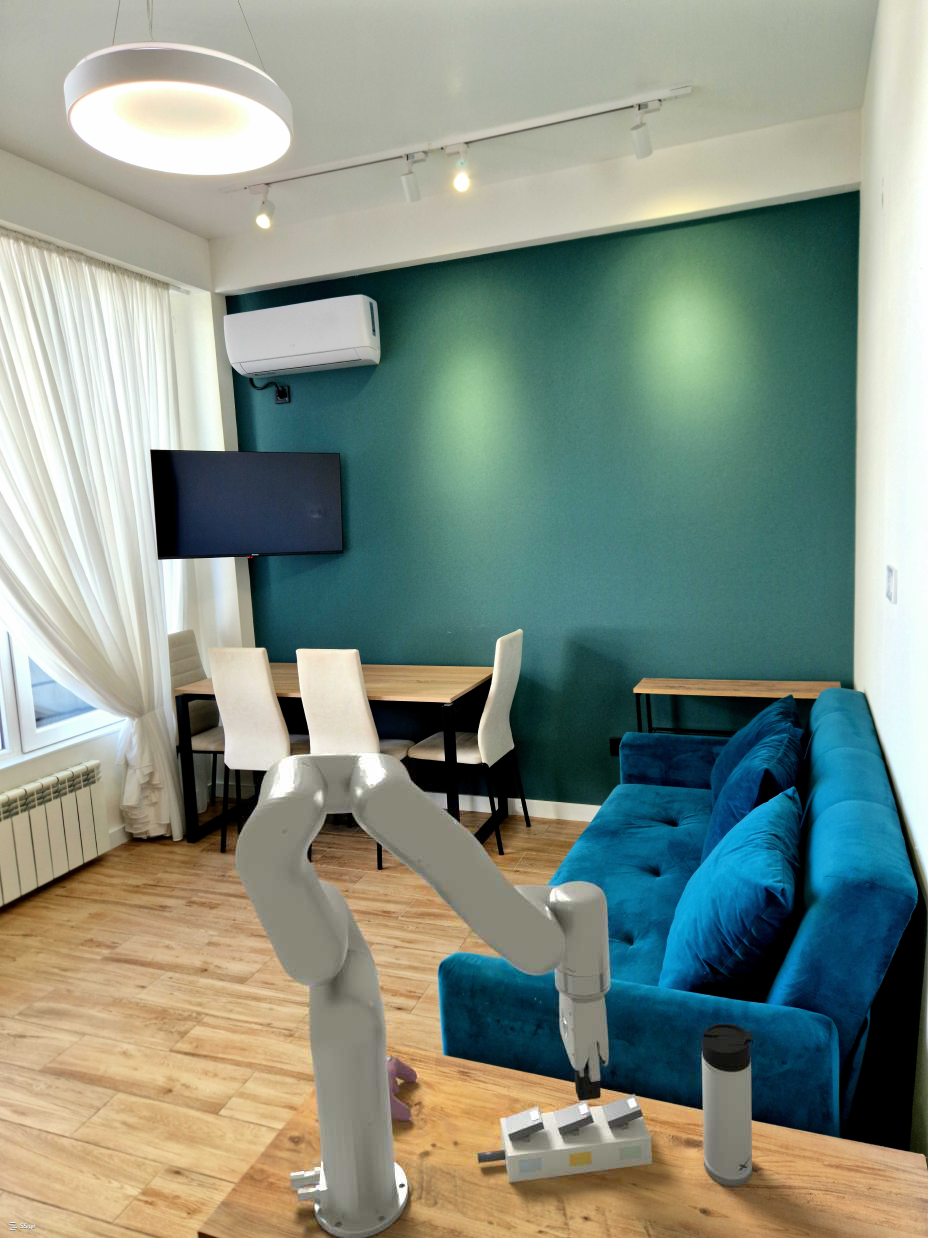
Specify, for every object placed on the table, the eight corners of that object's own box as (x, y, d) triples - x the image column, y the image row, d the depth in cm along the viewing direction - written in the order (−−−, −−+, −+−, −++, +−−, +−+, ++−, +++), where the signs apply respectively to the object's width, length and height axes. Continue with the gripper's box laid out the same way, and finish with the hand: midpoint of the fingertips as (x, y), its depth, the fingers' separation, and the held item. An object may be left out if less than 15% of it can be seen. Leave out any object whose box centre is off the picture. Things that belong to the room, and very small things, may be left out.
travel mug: (758, 1190, 107) (756, 1051, 104) (706, 1185, 108) (703, 1047, 106) (751, 1153, 113) (749, 1021, 111) (702, 1148, 115) (699, 1017, 112)
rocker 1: (510, 1142, 112) (507, 1134, 112) (507, 1126, 115) (504, 1118, 115) (544, 1129, 112) (541, 1121, 112) (540, 1113, 115) (537, 1105, 115)
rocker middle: (560, 1135, 113) (557, 1128, 112) (555, 1119, 116) (553, 1112, 115) (594, 1122, 113) (591, 1115, 113) (588, 1107, 116) (586, 1099, 116)
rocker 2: (609, 1129, 113) (607, 1121, 113) (603, 1113, 116) (601, 1106, 116) (643, 1116, 114) (640, 1108, 113) (636, 1101, 117) (634, 1093, 116)
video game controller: (396, 1087, 133) (374, 1052, 132) (420, 1075, 132) (398, 1040, 131) (387, 1133, 123) (363, 1096, 122) (412, 1121, 122) (389, 1083, 122)
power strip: (481, 1187, 110) (479, 1156, 109) (475, 1147, 117) (473, 1117, 117) (652, 1164, 112) (651, 1133, 112) (636, 1126, 119) (635, 1097, 119)
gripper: (544, 948, 119) (551, 1063, 121) (567, 1010, 104) (574, 1140, 106) (594, 942, 119) (600, 1057, 122) (624, 1003, 105) (630, 1132, 107)
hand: (588, 1095), depth 114 cm, fingers closed
